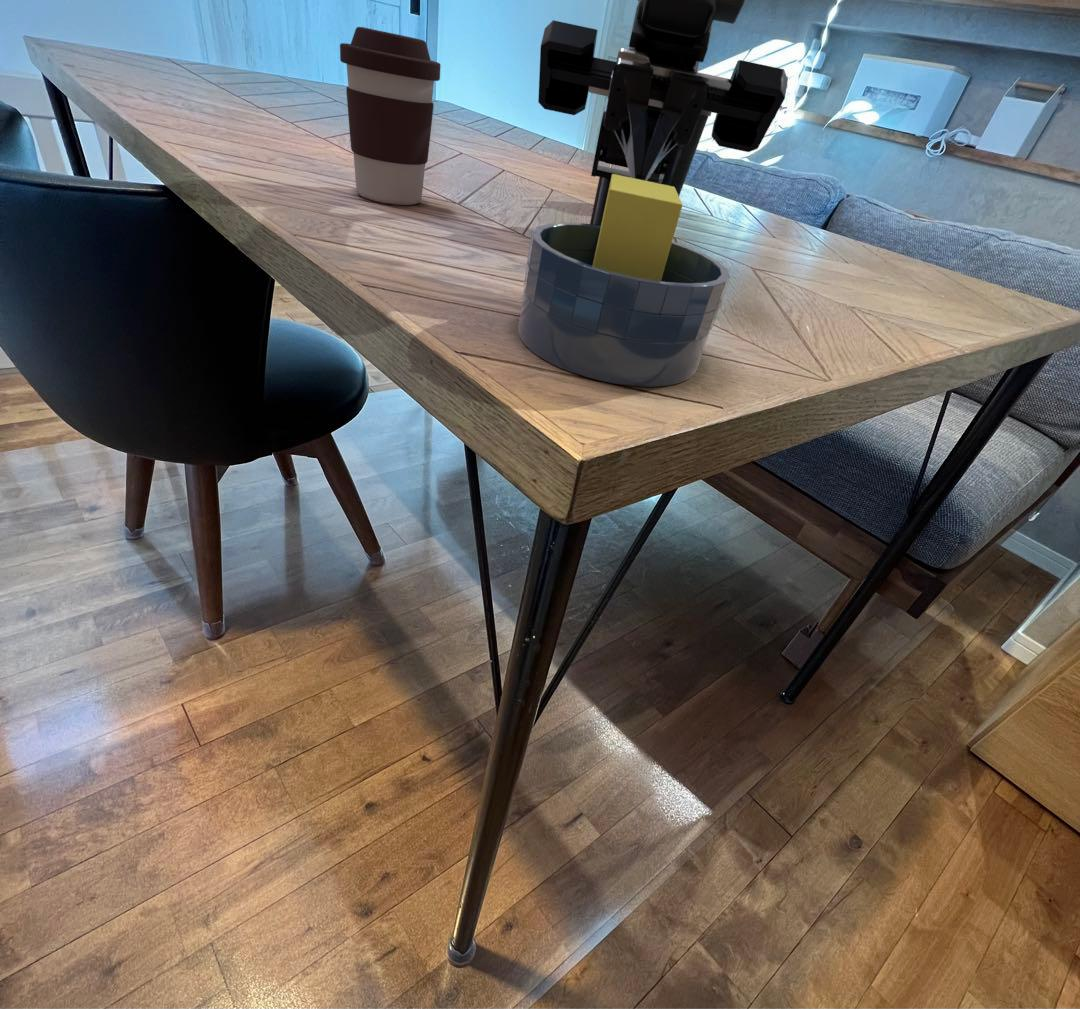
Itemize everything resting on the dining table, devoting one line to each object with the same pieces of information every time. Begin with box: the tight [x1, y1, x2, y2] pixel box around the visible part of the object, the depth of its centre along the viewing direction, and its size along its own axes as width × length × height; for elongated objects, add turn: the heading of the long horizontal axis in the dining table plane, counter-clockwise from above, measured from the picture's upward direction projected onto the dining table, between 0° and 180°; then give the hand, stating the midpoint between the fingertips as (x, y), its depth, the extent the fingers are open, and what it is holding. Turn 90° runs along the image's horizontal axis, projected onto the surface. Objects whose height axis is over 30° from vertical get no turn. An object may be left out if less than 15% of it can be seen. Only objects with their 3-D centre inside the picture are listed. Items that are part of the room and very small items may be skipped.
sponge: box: [592, 174, 683, 281], centre depth 40 cm, size 7×4×7 cm, turn 173°
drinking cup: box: [651, 110, 712, 197], centre depth 85 cm, size 8×8×20 cm
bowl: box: [517, 222, 731, 388], centre depth 41 cm, size 13×13×6 cm
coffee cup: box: [339, 26, 442, 206], centre depth 63 cm, size 10×10×15 cm
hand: (638, 182), depth 45 cm, fingers closed
